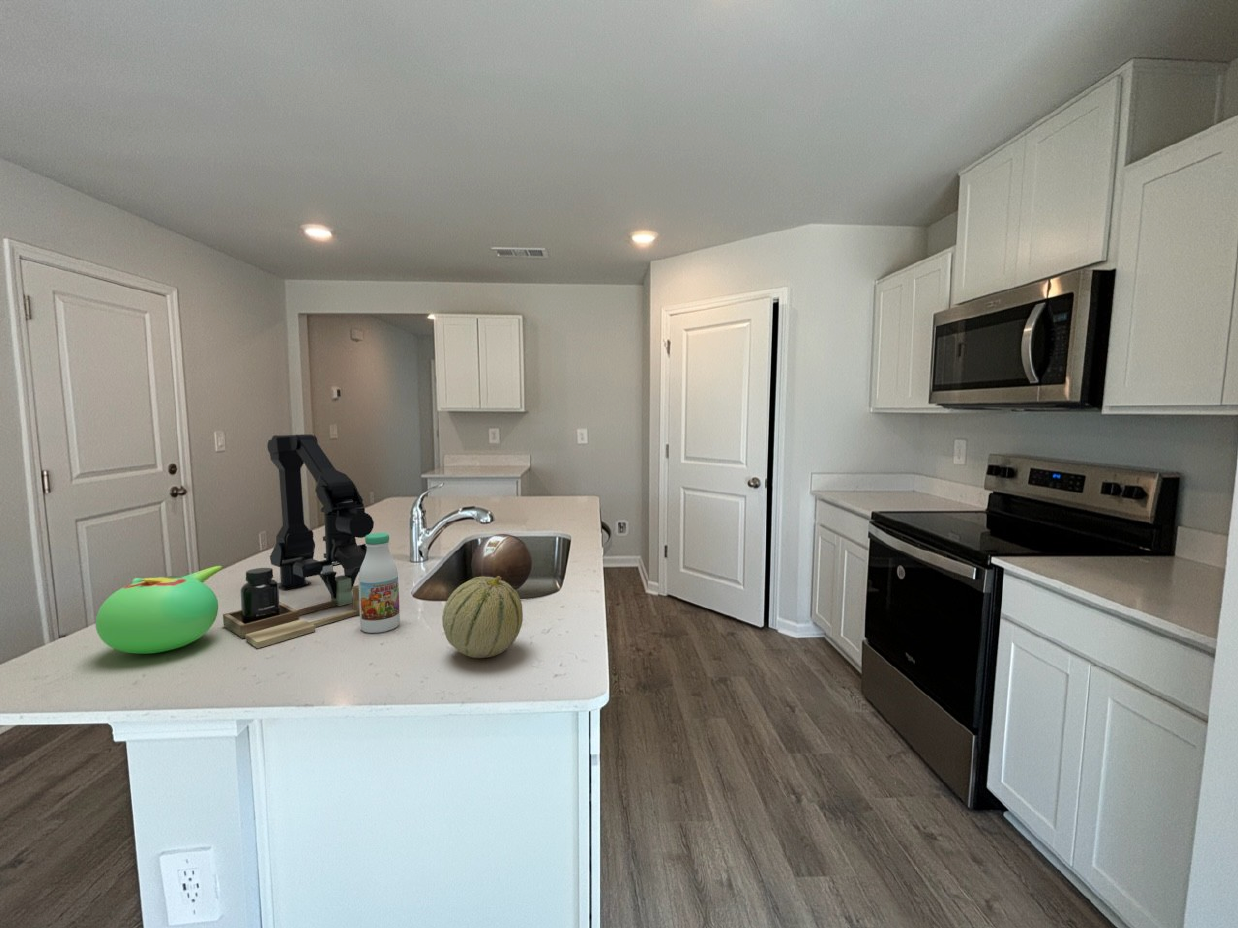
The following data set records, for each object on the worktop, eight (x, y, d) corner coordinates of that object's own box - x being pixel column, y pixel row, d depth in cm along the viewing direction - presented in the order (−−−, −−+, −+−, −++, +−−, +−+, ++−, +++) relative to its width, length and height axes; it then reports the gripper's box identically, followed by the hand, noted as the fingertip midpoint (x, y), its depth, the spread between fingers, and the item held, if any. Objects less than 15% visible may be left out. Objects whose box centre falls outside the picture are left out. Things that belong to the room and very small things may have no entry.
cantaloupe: (441, 644, 107) (439, 569, 106) (516, 633, 112) (515, 562, 111) (445, 677, 93) (443, 592, 92) (530, 664, 98) (529, 583, 97)
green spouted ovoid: (76, 673, 94) (69, 591, 93) (134, 635, 111) (128, 565, 109) (197, 661, 99) (192, 582, 98) (235, 626, 115) (231, 559, 114)
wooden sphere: (463, 602, 131) (462, 541, 130) (481, 583, 146) (480, 528, 145) (525, 603, 131) (524, 541, 129) (537, 583, 146) (536, 528, 144)
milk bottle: (352, 629, 114) (348, 536, 112) (383, 617, 121) (380, 529, 119) (377, 636, 110) (373, 540, 109) (407, 624, 117) (404, 532, 115)
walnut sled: (223, 625, 115) (221, 598, 115) (337, 596, 134) (336, 572, 134) (242, 638, 109) (240, 609, 108) (359, 605, 128) (358, 580, 127)
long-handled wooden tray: (245, 640, 108) (243, 610, 107) (362, 607, 127) (361, 582, 126) (257, 648, 104) (255, 617, 104) (376, 612, 123) (375, 587, 123)
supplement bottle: (266, 631, 113) (263, 575, 112) (234, 631, 113) (231, 574, 112) (287, 619, 120) (284, 566, 119) (257, 618, 120) (254, 565, 119)
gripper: (312, 544, 116) (316, 615, 117) (394, 530, 131) (396, 593, 132) (290, 537, 123) (293, 604, 124) (370, 524, 138) (372, 584, 139)
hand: (341, 596), depth 130 cm, fingers closed on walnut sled, 3 cm apart
